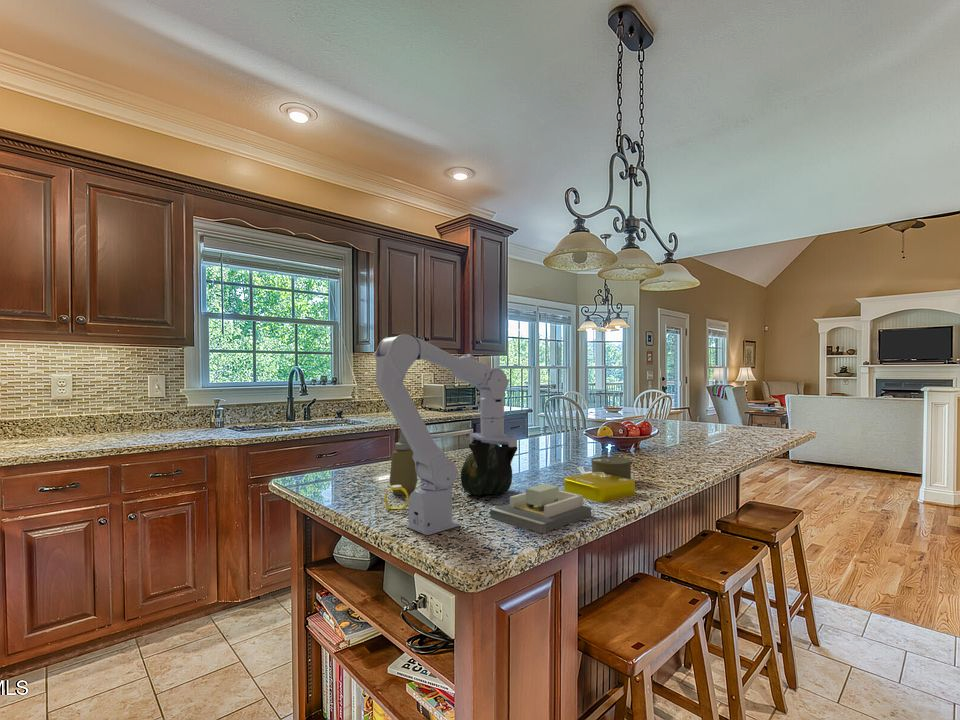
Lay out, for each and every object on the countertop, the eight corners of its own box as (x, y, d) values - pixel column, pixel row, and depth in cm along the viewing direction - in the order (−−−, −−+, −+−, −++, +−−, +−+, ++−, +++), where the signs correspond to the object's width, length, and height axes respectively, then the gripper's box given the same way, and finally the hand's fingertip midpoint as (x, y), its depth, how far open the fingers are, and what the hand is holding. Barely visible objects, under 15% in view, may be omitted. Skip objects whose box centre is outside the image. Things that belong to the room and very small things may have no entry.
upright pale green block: (540, 511, 109) (540, 491, 109) (526, 508, 112) (525, 488, 112) (559, 505, 114) (558, 486, 114) (544, 502, 117) (544, 483, 117)
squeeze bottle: (392, 489, 140) (392, 428, 141) (419, 489, 140) (419, 428, 140) (386, 496, 132) (386, 432, 133) (415, 496, 132) (414, 432, 132)
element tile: (561, 492, 136) (561, 476, 136) (597, 485, 144) (597, 469, 144) (601, 504, 123) (600, 486, 124) (638, 496, 132) (638, 478, 132)
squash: (444, 472, 137) (468, 437, 131) (482, 467, 147) (506, 434, 141) (468, 513, 129) (494, 477, 122) (506, 504, 139) (532, 471, 132)
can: (636, 486, 141) (635, 463, 141) (595, 486, 142) (594, 463, 142) (626, 477, 153) (626, 456, 153) (588, 477, 154) (588, 456, 154)
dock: (542, 534, 100) (542, 512, 101) (490, 517, 112) (490, 498, 112) (591, 515, 113) (590, 496, 113) (539, 502, 124) (539, 485, 125)
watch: (384, 512, 119) (382, 488, 119) (386, 508, 122) (384, 485, 122) (408, 509, 119) (406, 486, 119) (409, 506, 122) (407, 483, 122)
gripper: (525, 418, 112) (526, 475, 112) (484, 414, 123) (484, 467, 123) (504, 420, 108) (505, 480, 107) (463, 416, 118) (463, 471, 118)
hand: (492, 473), depth 115 cm, fingers open, 7 cm apart
